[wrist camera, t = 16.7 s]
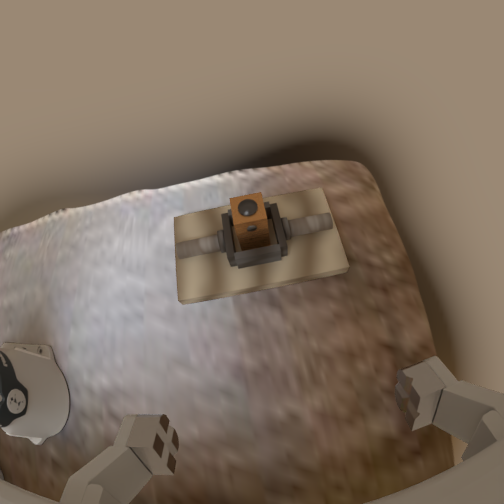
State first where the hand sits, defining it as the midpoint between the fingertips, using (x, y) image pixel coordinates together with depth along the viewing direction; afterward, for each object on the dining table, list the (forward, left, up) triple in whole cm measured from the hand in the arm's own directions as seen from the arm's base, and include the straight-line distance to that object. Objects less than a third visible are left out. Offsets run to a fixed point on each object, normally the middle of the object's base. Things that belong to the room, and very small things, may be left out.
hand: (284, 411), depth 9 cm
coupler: (-6, +21, -27) cm, 35 cm away
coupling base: (-6, +21, -29) cm, 37 cm away
